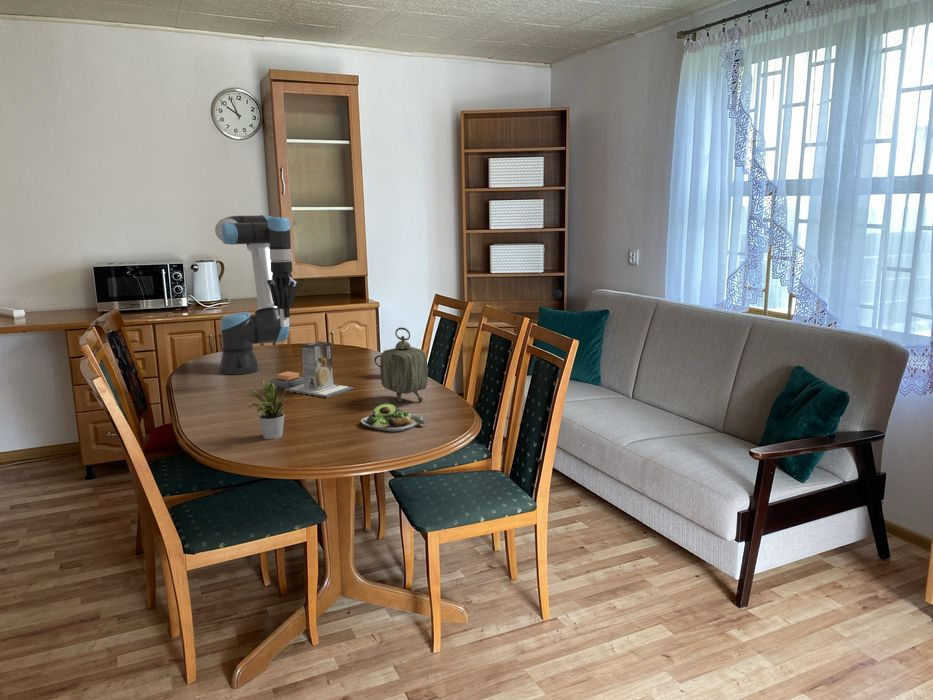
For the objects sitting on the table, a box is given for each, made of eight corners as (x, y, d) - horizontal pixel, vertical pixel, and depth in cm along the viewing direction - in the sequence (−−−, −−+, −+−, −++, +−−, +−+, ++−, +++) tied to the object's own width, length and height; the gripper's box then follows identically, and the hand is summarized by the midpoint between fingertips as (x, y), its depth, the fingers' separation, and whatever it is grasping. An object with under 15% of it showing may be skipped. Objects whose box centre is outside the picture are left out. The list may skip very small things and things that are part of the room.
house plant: (237, 433, 198) (233, 378, 194) (283, 425, 205) (280, 372, 202) (253, 447, 186) (249, 388, 183) (302, 437, 194) (298, 381, 191)
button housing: (270, 386, 252) (269, 379, 252) (288, 381, 260) (287, 374, 259) (288, 389, 247) (288, 382, 247) (306, 384, 255) (306, 377, 255)
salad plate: (439, 421, 210) (439, 406, 209) (406, 437, 194) (406, 422, 194) (387, 412, 219) (387, 398, 218) (352, 427, 204) (352, 412, 203)
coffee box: (320, 383, 252) (318, 340, 249) (334, 385, 249) (332, 342, 246) (303, 389, 244) (300, 345, 241) (317, 391, 241) (314, 346, 238)
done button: (276, 378, 252) (276, 374, 252) (287, 375, 257) (287, 371, 257) (288, 380, 249) (287, 376, 249) (299, 377, 254) (298, 373, 254)
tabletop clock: (428, 401, 230) (427, 328, 225) (408, 407, 223) (407, 331, 218) (398, 394, 239) (396, 323, 235) (379, 400, 233) (376, 327, 228)
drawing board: (284, 391, 245) (284, 388, 245) (311, 382, 257) (311, 380, 257) (327, 398, 235) (327, 395, 235) (353, 389, 247) (353, 386, 247)
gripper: (302, 260, 245) (305, 326, 249) (275, 259, 251) (279, 323, 256) (286, 262, 238) (290, 329, 243) (260, 261, 245) (264, 326, 249)
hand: (285, 326), depth 249 cm, fingers closed
